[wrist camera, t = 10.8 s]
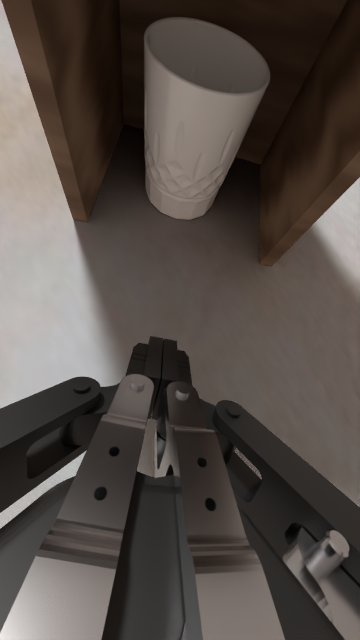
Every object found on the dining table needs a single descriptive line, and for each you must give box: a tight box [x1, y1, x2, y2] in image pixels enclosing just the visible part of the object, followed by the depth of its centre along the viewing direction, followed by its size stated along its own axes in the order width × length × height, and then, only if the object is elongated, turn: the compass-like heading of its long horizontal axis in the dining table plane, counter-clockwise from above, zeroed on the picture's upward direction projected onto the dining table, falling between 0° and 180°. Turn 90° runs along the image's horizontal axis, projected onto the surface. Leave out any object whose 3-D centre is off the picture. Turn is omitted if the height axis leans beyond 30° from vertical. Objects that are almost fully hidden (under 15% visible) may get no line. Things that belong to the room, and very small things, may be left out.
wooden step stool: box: [2, 0, 360, 266], centre depth 14 cm, size 16×21×20 cm
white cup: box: [144, 17, 270, 220], centre depth 18 cm, size 8×8×10 cm
